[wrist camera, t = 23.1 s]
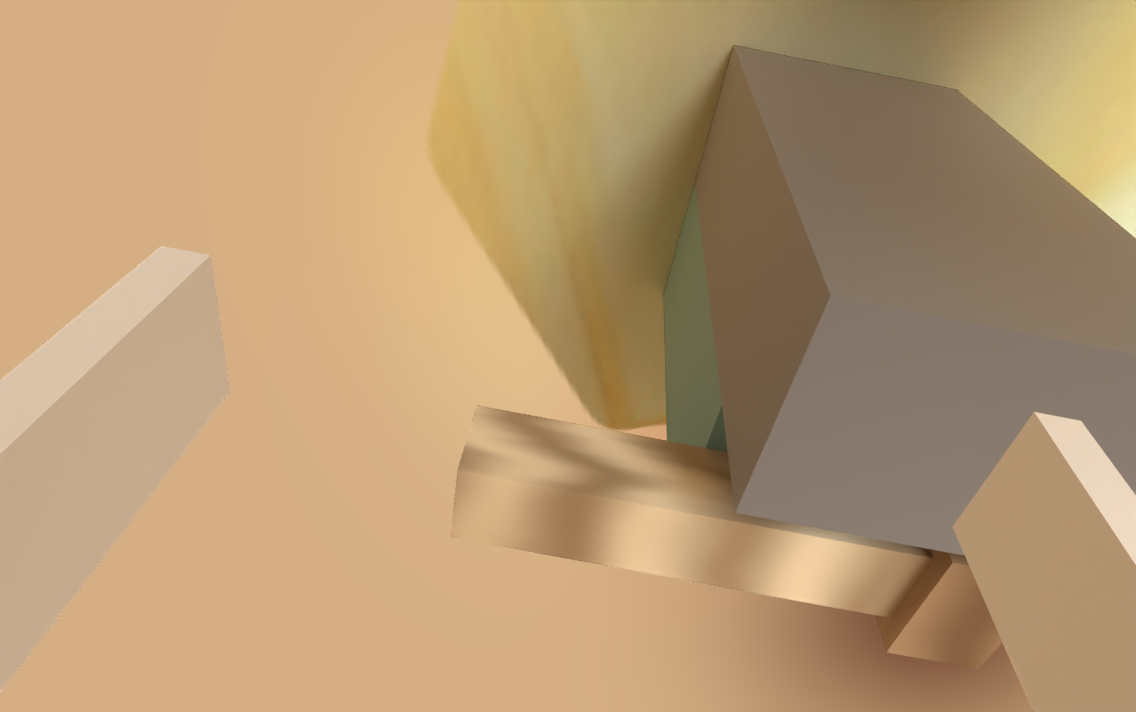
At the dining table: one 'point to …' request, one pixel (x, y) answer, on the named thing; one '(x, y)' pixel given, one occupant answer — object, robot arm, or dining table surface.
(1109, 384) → the stand
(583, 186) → the dining table surface
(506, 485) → the wooden bar
